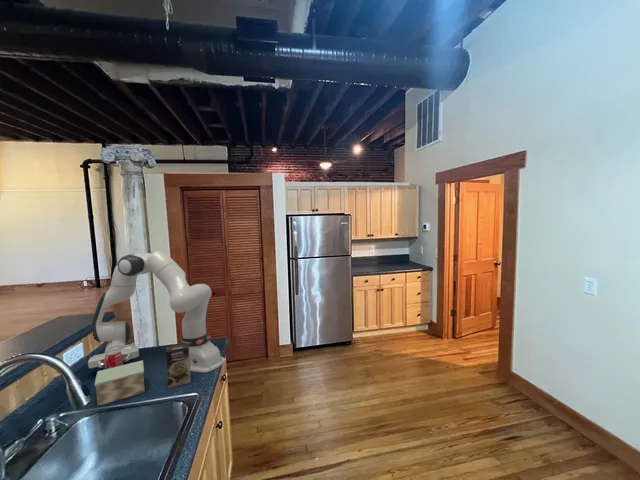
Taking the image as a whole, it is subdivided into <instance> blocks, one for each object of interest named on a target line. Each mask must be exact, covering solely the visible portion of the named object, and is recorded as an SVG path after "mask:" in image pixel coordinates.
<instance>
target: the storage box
mask: <svg viewBox="0 0 640 480" xmlns="http://www.w3.org/2000/svg"><path fill="white" fill-rule="evenodd" d="M144 377H145V376H144V374H140V375H137V376H133V377H129V378H128V379H126V380H123V381H119V382H115V383H113V382H111V383H107V384H103V385H100V386H96V387H95V391H96V392H95V393H96V404H97V407H100V406H102V405H106V404H110V403H113V402H116V401H119V400H122V399H126V398H130V397H133V396H137V395H139V394H143V393H145V392H146V391H145V380H144ZM99 405H100V406H99Z"/></svg>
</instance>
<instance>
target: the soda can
mask: <svg viewBox="0 0 640 480" xmlns="http://www.w3.org/2000/svg"><path fill="white" fill-rule="evenodd" d="M104 362H105V365H104V370H105V369H109V368H113V367H117V366H121V365H124V361H123V356H122V353H121V352H120V350H112V351H109V352H107V353H106V356H105V358H104Z"/></svg>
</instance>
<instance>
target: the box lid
mask: <svg viewBox="0 0 640 480" xmlns="http://www.w3.org/2000/svg"><path fill="white" fill-rule="evenodd" d="M140 374H143V375H144V374H145V368H144V360H143V359H142V360H139V361H135V362H134V361H133V362H129V363H126V364H123V365H121V366H117V367H113V368H109V369H105V368H104V369H103V370H102V369H101V370H98V371H97V373H96V376H95V381H94V387H95V388H96V386H100V385H103V384H107V383H111V382H113V383H115V382H119V381H123V380H126V379H128V378H129V377H133V376H137V375H140Z"/></svg>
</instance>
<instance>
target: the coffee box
mask: <svg viewBox="0 0 640 480" xmlns="http://www.w3.org/2000/svg"><path fill="white" fill-rule="evenodd" d="M165 356H166V370H167V371H166V372H167V373H166V374H167V388H169V389H170V388H174V387H178V386H182V385H187V384H191V380H192V377H191V371H190V358H189V343H186V344H182V343H181V344H176V345H170V346H169V345H168V346H166V349H165Z"/></svg>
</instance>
